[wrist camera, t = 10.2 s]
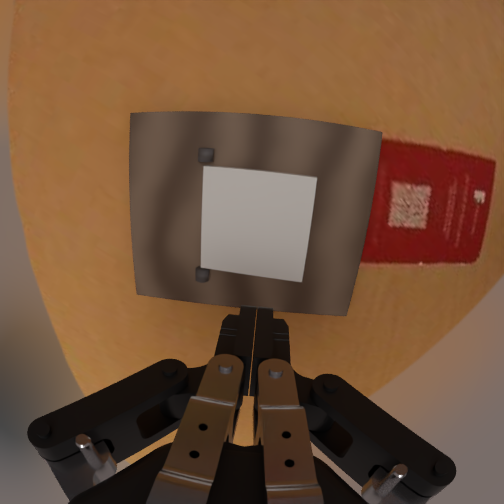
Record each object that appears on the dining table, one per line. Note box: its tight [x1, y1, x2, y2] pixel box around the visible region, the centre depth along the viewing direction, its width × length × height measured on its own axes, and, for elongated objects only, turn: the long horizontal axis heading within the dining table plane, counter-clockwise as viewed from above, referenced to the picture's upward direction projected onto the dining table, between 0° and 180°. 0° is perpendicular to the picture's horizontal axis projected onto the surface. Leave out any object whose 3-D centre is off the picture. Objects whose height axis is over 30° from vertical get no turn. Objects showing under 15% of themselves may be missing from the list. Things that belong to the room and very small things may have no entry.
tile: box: [201, 165, 317, 282], centre depth 28 cm, size 10×10×1 cm
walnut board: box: [129, 112, 382, 316], centre depth 30 cm, size 24×20×3 cm
